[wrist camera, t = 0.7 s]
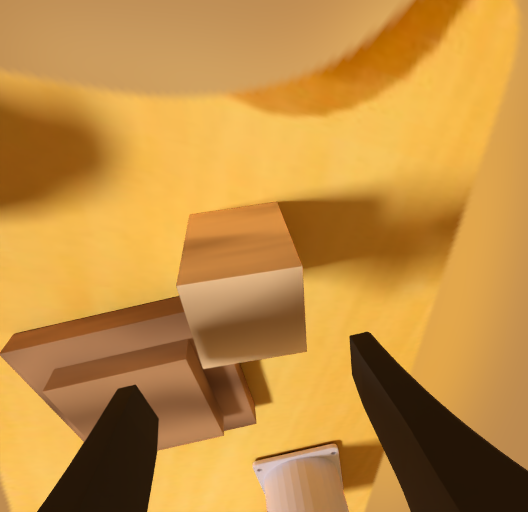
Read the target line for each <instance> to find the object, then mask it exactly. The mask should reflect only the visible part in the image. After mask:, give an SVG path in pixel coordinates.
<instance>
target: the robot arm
mask: <svg viewBox="0 0 528 512" xmlns="http://www.w3.org/2000/svg"><path fill="white" fill-rule="evenodd" d="M350 351H351V366H352V376H353V379H354V381H355V384H356V387H357V390H358V393H359V396H360V398H361V401H362V404H363V406H364V408H365V411H366V413H367V415H368V417H369V419H370V421H371V423H372V426H373V428H374V430H375V432H376V434H377V436H378V438H379V440H380V442H381V445H382V447H383V449H384V451H385V453H386V455H387V457H388V459H389V461H390V464H391V466H392V468H393V470H394V472H395V474H396V476H397V479H398V481H399V483H400V485H401V488H402V490H403V492H404V495H405V498H406V500H407V502H408V505H409V508H410V511H411V512H528V471H527V470H526V469H524V468H523V467H522V466H520V465H519V464H517V463H516V462H514V461H513V460H512V459H510V458H509V457H508V456H506V455H505V454H503V453H502V452H501V451H499V450H498V449H497V448H495V447H494V446H493V445H491V444H490V443H489V442H487V441H486V440H485V439H483V438H482V437H481V436H480V435H478V434H477V433H476V432H474V431H473V430H472V429H471V428H470V427H468V426H467V425H466V424H465V423H463V422H462V421H461V420H460V419H458V418H457V417H456V416H455V415H454V414H452V413H451V412H450V411H449V410H448V409H447V408H446V407H444V406H443V405H442V404H441V403H440V402H439V401H437V400H436V399H435V398H434V397H433V396H432V395H431V394H429V392H427V391H426V390H425V389H424V388H423V387H422V386H421V385H420V384H419V383H418V382H417V381H416V380H415V379H414V378H413V377H412V376H411V375H409V374H408V373H407V372H406V371H405V370H404V369H403V368H402V367H401V366H400V365H399V364H398V363H397V362H396V360H395V359H394V358H393V357H392V356H391V355H390V354H389V353H388V352H387V351H386V350H385V349H384V348H383V347H382V346H381V344H380V343H379V342H378V341H377V340H376V339H375V338H374V337H373V335H372V334H371V333H369V332H364V333H360V334H355V335H351V336H350ZM158 426H159V418H158V417H157V415H156V414H155V412H154V411H153V409H152V408H151V406H150V405H149V403H148V402H147V400H146V399H145V397H144V396H143V394H142V393H141V391H140V390H139V388H138V387H137V385H131V386H127V387H122V388H118V389H117V391H116V392H115V394H114V395H113V397H112V398H111V400H110V402H109V403H108V405H107V406H106V408H105V410H104V411H103V413H102V415H101V416H100V418H99V419H98V421H97V423H96V424H95V426H94V427H93V429H92V431H91V432H90V434H89V435H88V437H87V439H86V440H85V442H84V443H83V445H82V446H81V448H80V450H79V451H78V453H77V454H76V456H75V457H74V459H73V460H72V462H71V463H70V465H69V467H68V468H67V470H66V471H65V472H64V474H63V475H62V477H61V478H60V480H59V481H58V483H57V484H56V486H55V487H54V488H53V490H52V491H51V493H50V494H49V496H48V497H47V499H46V500H45V501H44V503H43V504H42V506H41V507H40V508H39V510H38V511H37V512H147V509H148V503H149V497H150V492H151V486H152V480H153V474H154V468H155V462H156V455H157V445H158ZM253 469H254V472H255V474H256V476H257V478H258V480H259V483H260V485H261V487H262V489H263V491H264V494H265V496H266V506H267V512H349V510H348V506H347V503H346V499H345V496H344V492H343V481H342V474H341V466H340V459H339V451H338V447H337V445H336V444H329V445H324V446H320V447H315V448H311V449H306V450H302V451H298V452H293V453H289V454H284V455H280V456H275V457H271V458H267V459H262V460H258V461H255V462H254V463H253Z"/></svg>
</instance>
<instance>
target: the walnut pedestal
mask: <svg viewBox="0 0 528 512" xmlns="http://www.w3.org/2000/svg"><path fill="white" fill-rule="evenodd" d="M0 356H1V357H2V358H3V359H4V360H5V361H6V362H7V363H8V364H9V365H10V366H11V367H12V368H13V369H14V370H15V371H16V372H17V373H18V374H19V375H20V376H21V377H22V378H23V379H24V381H25V382H26V383H27V384H28V385H29V386H30V387H31V388H32V389H33V390H34V391H35V392H36V393H37V394H38V395H39V396H40V397H41V398H42V399H43V400H44V401H45V402H46V403H47V404H48V405H49V406H50V407H51V408H52V409H53V410H54V411H55V412H56V413H57V414H58V416H59V417H60V418H61V419H62V420H63V421H64V422H65V423H66V424H67V425H68V426H69V427H70V428H71V429H72V430H73V431H74V432H75V433H76V434H77V435H78V436H79V437H80V438H81V439H82V440H83V441H84V442H85V440H86V439H87V437H88V435H89V434H90V432H91V431H92V429H93V427H94V426H95V424H96V423H97V421H98V419H99V418H100V416H101V415H102V413H103V411H104V410H105V408H106V406H107V405H108V403H109V402H110V400H111V398H112V397H113V395H114V394H115V392H116V391H117V389H118V388H122V387H127V386H131V385H137V387H138V388H139V390H140V391H141V393H142V394H143V396H144V397H145V399H146V400H147V402H148V403H149V405H150V406H151V408H152V409H153V411H154V412H155V414H156V415H157V417H158V418H159V426H158V445H157V451H158V450H162V449H167V448H171V447H176V446H180V445H185V444H189V443H193V442H198V441H202V440H207V439H211V438H215V437H220V436H224V431H226V430H230V429H235V428H239V427H244V426H248V425H252V424H256V414H255V405H254V402H253V399H252V396H251V394H250V391H249V388H248V385H247V383H246V380H245V377H244V374H243V372H242V369H241V366H240V363H236V364H230V365H224V366H219V367H213V368H207V369H203V367H202V364H201V361H200V358H199V355H198V352H197V349H196V346H195V343H194V339H193V336H192V333H191V330H190V327H189V324H188V321H187V318H186V315H185V312H184V308H183V305H182V302H181V299H180V296H178V297H174V298H170V299H165V300H161V301H157V302H152V303H148V304H143V305H139V306H135V307H130V308H126V309H122V310H117V311H113V312H108V313H104V314H100V315H95V316H91V317H87V318H82V319H78V320H73V321H69V322H65V323H60V324H56V325H52V326H47V327H43V328H38V329H34V330H30V331H25V332H21V333H17V334H13V336H12V337H11V338H10V340H9V341H8V343H7V344H6V345H5V347H4V348H3V349H2V351H1V352H0Z"/></svg>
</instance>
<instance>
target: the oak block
mask: <svg viewBox="0 0 528 512" xmlns="http://www.w3.org/2000/svg"><path fill="white" fill-rule="evenodd" d="M176 287H177V290H178V293H179V296H180V299H181V302H182V305H183V308H184V312H185V315H186V318H187V321H188V324H189V327H190V330H191V333H192V336H193V339H194V343H195V346H196V349H197V352H198V355H199V358H200V361H201V364H202V367H203V369H207V368H213V367H219V366H224V365H230V364H236V363H242V362H248V361H254V360H260V359H266V358H272V357H278V356H284V355H290V354H296V353H302V352H307V344H306V325H305V306H304V287H303V267H302V264H301V261H300V259H299V256H298V254H297V251H296V249H295V246H294V243H293V241H292V238H291V236H290V233H289V231H288V228H287V226H286V223H285V221H284V218H283V216H282V213H281V211H280V208H279V205H278V203H277V202H272V203H265V204H258V205H251V206H245V207H238V208H231V209H224V210H218V211H211V212H204V213H197V214H191V215H189V220H188V225H187V231H186V236H185V241H184V247H183V252H182V258H181V263H180V268H179V274H178V279H177V285H176Z"/></svg>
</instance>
